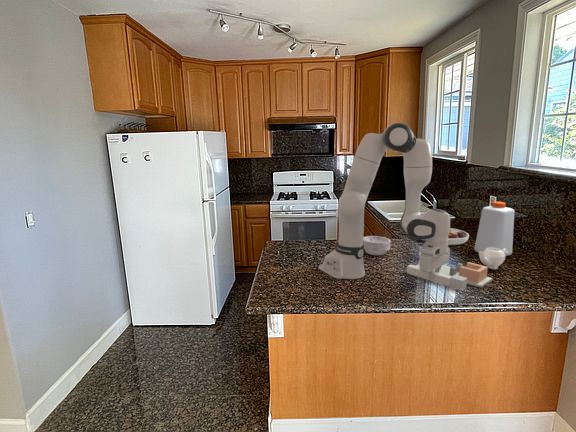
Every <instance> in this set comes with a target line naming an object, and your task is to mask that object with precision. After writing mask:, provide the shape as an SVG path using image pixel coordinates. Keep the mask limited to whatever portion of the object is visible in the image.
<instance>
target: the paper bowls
mask: <svg viewBox="0 0 576 432" xmlns="http://www.w3.org/2000/svg"><path fill="white" fill-rule="evenodd" d="M363 244H364V252H366V254H368V255H371V256H383V255H385V254H386V252H388V251H390V250H391V239H390V238H388V237H385V236H378V235H367V236H363Z"/></svg>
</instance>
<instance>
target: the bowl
mask: <svg viewBox="0 0 576 432" xmlns="http://www.w3.org/2000/svg"><path fill="white" fill-rule="evenodd" d="M469 238H470V235H469V233H468V232H466V231H464V230H461V229H457V228H452V227H450V231H449V234H448V239H449V242H448V246H458V245H463V244H465V243H466V242H467V241H468V240H469ZM420 240H421V241H423V242H424V243H425V242H426V239H420Z"/></svg>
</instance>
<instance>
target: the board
mask: <svg viewBox="0 0 576 432" xmlns="http://www.w3.org/2000/svg"><path fill="white" fill-rule="evenodd" d="M415 266H418V267H419V263H417V265H415ZM488 270H489V268H488V267H486V265H482V264H477V263H474V262H469V261H468V262H466V266H464V263H461V262H458V263H457V264H456V266H449V265H446V264H444V265H442V266H441V269H440V271H439V273H442V274H446V275H449V276H454V275H458V276H462V277H465V278H467V285H471V286H473V287H478V288H481V289H482V288H483V287H485V286H486V285H487V284H490V283H491V282H492V281H493V277H489V276H488ZM434 271H435V269H434Z"/></svg>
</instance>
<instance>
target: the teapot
mask: <svg viewBox="0 0 576 432" xmlns="http://www.w3.org/2000/svg"><path fill="white" fill-rule="evenodd" d="M505 252H506V253H508V252H507V250H506V249H503V250H501V249H499V248H494V247H488V248H486V249H485V250H484V251H483V252H482V251H479V253H478V257H479V259H480V262H481V263H482V264H483V266H486V267H488V269H491V270H498V268H499V266H500V265H502V264H503V263H504V262H505V260H506V256H505Z"/></svg>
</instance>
